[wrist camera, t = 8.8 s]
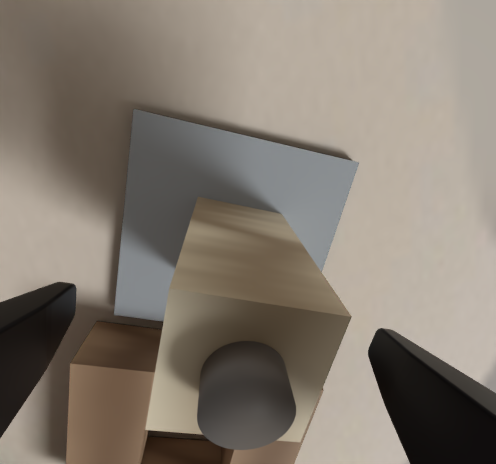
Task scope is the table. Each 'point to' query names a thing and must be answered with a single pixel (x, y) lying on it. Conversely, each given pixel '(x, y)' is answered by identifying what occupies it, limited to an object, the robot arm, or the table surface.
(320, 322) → the plug
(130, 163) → the mat
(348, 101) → the table surface
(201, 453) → the socket block
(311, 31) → the table surface
